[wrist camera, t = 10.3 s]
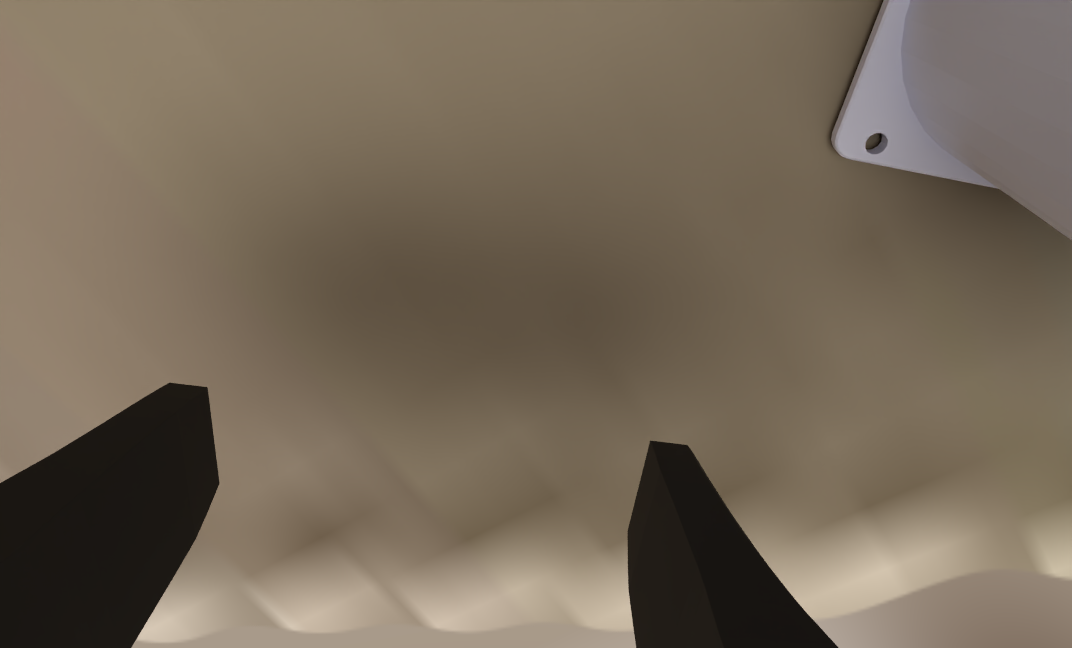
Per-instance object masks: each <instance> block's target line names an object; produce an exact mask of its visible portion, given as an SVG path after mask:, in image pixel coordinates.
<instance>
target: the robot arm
mask: <svg viewBox="0 0 1072 648" xmlns="http://www.w3.org/2000/svg"><path fill="white" fill-rule="evenodd" d="M875 133H881V134H882V140H881V142H880V144H879V145H878V146H877V147H875V148H873V149H867V150H866V148H865V144H866V141H867V139H868V138H869V137H870V136H871V135H873V134H875ZM831 141H832V145H833V148H834V149H835V150H836V151H837V152H838V153H839V154H840V155H841V156H842V157H845V158H847V159H851V160H856V161H861V162H866V163H871V164H876V165H881V166H886V167H891V168H896V169H901V170H906V171H911V172H916V173H921V174H926V175H931V176H937V177H942V178H947V179H952V180H957V181H962V182H967V183H972V184H977V185H982V186H987V187H992V188H997V189H1000V190H1001V191H1003V192H1004V193H1006V194H1007V195H1008V196H1010V197H1011V198H1013V199H1014V200H1016V201H1017V202H1018V203H1020V204H1021V205H1023V206H1024V207H1025V208H1027V209H1028V210H1030V211H1031V212H1032V213H1034V214H1035V215H1037V216H1038V217H1040V218H1041V219H1042V220H1044V221H1045V222H1047V223H1048V224H1049V225H1051V226H1052V227H1054V228H1055V229H1056V230H1058V231H1059V232H1061V233H1062V234H1064V235H1065V236H1066V237H1068V238H1069V239H1071V240H1072V0H884V1H883V3H882V6H881V9H880V11H879V14H878V16H877V19H876V21H875V24H874V27H873V29H872V32H871V34H870V37H869V39H868V42H867V45H866V47H865V50H864V52H863V55H862V57H861V60H860V63H859V65H858V68H857V70H856V73H855V75H854V78H853V81H852V83H851V86H850V88H849V91H848V93H847V96H846V99H845V101H844V104H843V106H842V109H841V111H840V114H839V117H838V119H837V122H836V124H835V127H834V129H833V132H832V138H831ZM218 485H219V477H218V468H217V460H216V452H215V444H214V436H213V428H212V420H211V412H210V404H209V396H208V388H207V387H201V386H192V385H184V384H176V383H168V384H167V385H165V386H163V387H161V388H159V389H158V390H156V391H154V392H153V393H151V394H149V395H148V396H146V397H144V398H143V399H141V400H139V401H138V402H136V403H135V404H133V405H131V406H130V407H128V408H127V409H125V410H123V411H122V412H120V413H119V414H117V415H115V416H114V417H112V418H111V419H109V420H107V421H106V422H104V423H102V424H101V425H99V426H98V427H96V428H94V429H93V430H91V431H89V432H88V433H86V434H84V435H83V436H81V437H80V438H78V439H76V440H75V441H73V442H71V443H70V444H68V445H66V446H65V447H63V448H61V449H60V450H58V451H57V452H55V453H53V454H51V455H50V456H48V457H46V458H44V459H43V460H41V461H39V462H37V463H36V464H34V465H32V466H30V467H28V468H27V469H25V470H23V471H21V472H19V473H18V474H16V475H14V476H12V477H10V478H9V479H7V480H5V481H3V482H1V483H0V648H131V647H132V645H133V644H134V642H135V640H136V639H137V637H138V635H139V634H140V632H141V630H142V629H143V627H144V625H145V624H146V622H147V620H148V619H149V617H150V615H151V614H152V612H153V610H154V609H155V607H156V605H157V604H158V602H159V600H160V599H161V597H162V595H163V594H164V592H165V590H166V589H167V587H168V585H169V584H170V582H171V580H172V579H173V577H174V575H175V574H176V572H177V570H178V568H179V567H180V565H181V563H182V562H183V560H184V558H185V557H186V555H187V553H188V551H189V550H190V548H191V546H192V544H193V543H194V541H195V539H196V537H197V535H198V532H199V530H200V528H201V526H202V524H203V521H204V519H205V517H206V515H207V512H208V510H209V507H210V505H211V502H212V500H213V498H214V495H215V493H216V490H217V488H218ZM628 584H629V596H630V604H631V611H632V619H633V626H634V634H635V641H636V648H838V647H837V646H836V645H835V643H834V642H833V641H832V640H831V639H830V638H829V637H828V636H827V635H826V634H825V632H824V631H823V630H822V629H821V628H820V627H819V626H818V625H817V624H816V623H815V622H814V620H813V619H812V618H811V617H810V616H809V615H808V614H807V613H806V612H805V611H804V609H803V608H802V607H801V606H800V605H799V604H798V602H797V601H796V600H795V599H794V598H793V596H792V595H791V594H790V593H789V591H788V590H787V589H786V588H785V586H784V585H783V584H782V583H781V581H780V580H779V579H778V577H777V576H776V575H775V574H774V572H773V571H772V570H771V569H770V567H769V566H768V565H767V563H766V562H765V561H764V559H763V558H762V557H761V555H760V554H759V552H758V551H757V550H756V548H755V547H754V545H753V544H752V543H751V541H750V540H749V538H748V537H747V535H746V534H745V533H744V531H743V530H742V528H741V527H740V526H739V524H738V523H737V521H736V520H735V518H734V517H733V515H732V514H731V512H730V511H729V509H728V508H727V506H726V505H725V503H724V502H723V500H722V499H721V497H720V495H719V494H718V492H717V491H716V489H715V488H714V486H713V484H712V483H711V481H710V480H709V478H708V476H707V475H706V473H705V472H704V470H703V468H702V467H701V465H700V463H699V462H698V460H697V459H696V457H695V455H694V454H693V452H692V451H691V449H690V448H689V447H688V445H681V444H673V443H665V442H657V441H650V444H649V448H648V452H647V456H646V460H645V464H644V468H643V472H642V476H641V480H640V484H639V488H638V492H637V496H636V500H635V504H634V508H633V512H632V516H631V520H630V524H629V528H628Z"/></svg>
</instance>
